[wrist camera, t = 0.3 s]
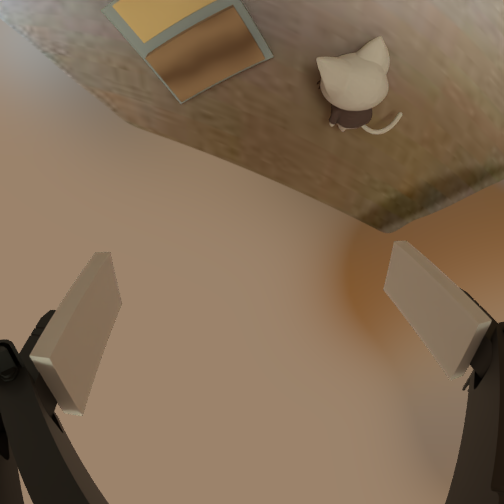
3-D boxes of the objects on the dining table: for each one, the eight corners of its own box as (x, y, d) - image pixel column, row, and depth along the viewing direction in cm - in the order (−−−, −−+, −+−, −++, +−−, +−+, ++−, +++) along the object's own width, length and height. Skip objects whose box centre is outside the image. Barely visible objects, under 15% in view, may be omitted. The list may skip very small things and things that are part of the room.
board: (103, 8, 25) (100, 11, 24) (202, -55, 21) (201, -55, 20) (181, 100, 39) (180, 105, 38) (272, 54, 34) (274, 57, 34)
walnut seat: (148, 53, 31) (145, 58, 30) (232, 4, 27) (233, 7, 26) (182, 95, 37) (181, 102, 36) (263, 54, 33) (265, 59, 32)
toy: (367, 95, 45) (373, 22, 31) (404, 128, 41) (423, 52, 27) (304, 126, 44) (296, 46, 30) (341, 164, 41) (346, 82, 27)
